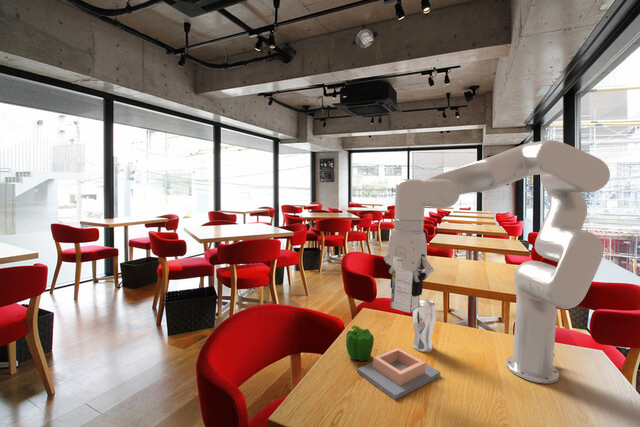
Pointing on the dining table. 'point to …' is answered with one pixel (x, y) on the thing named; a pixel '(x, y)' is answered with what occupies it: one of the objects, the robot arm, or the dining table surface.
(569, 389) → the dining table surface
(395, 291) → the syrup box
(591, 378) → the dining table surface
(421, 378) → the socket board
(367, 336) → the bell pepper
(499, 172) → the robot arm
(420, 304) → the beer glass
